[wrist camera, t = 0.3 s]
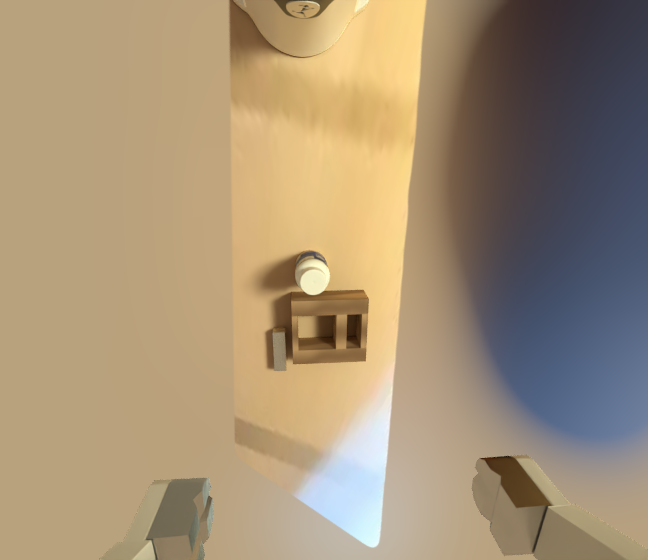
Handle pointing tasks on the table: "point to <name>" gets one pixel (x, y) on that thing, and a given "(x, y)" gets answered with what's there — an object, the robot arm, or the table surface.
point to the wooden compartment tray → (340, 343)
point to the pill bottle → (312, 272)
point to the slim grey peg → (279, 349)
